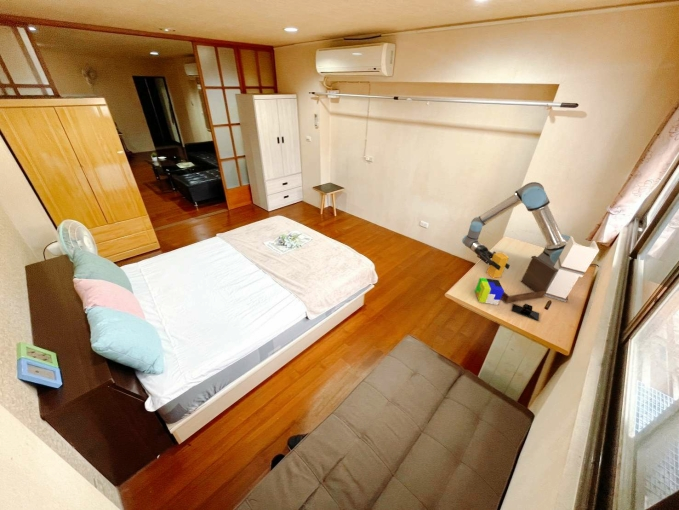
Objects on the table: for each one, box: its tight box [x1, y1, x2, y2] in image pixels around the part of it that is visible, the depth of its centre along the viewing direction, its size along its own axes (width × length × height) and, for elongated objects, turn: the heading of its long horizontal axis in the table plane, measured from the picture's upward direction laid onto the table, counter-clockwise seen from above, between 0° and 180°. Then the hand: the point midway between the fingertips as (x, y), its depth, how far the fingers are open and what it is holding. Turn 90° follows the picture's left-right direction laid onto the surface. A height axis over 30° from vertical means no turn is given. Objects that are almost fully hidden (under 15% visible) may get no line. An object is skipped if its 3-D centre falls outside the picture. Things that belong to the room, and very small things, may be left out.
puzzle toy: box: [474, 277, 505, 306], centre depth 151 cm, size 10×10×10 cm
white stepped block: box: [544, 235, 600, 303], centre depth 149 cm, size 11×11×35 cm
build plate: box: [511, 303, 540, 322], centre depth 143 cm, size 12×7×5 cm, turn 54°
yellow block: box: [486, 252, 510, 279], centre depth 169 cm, size 6×6×15 cm
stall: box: [500, 255, 559, 304], centre depth 154 cm, size 27×16×19 cm, turn 103°
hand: (504, 267), depth 164 cm, fingers closed on yellow block, 6 cm apart
